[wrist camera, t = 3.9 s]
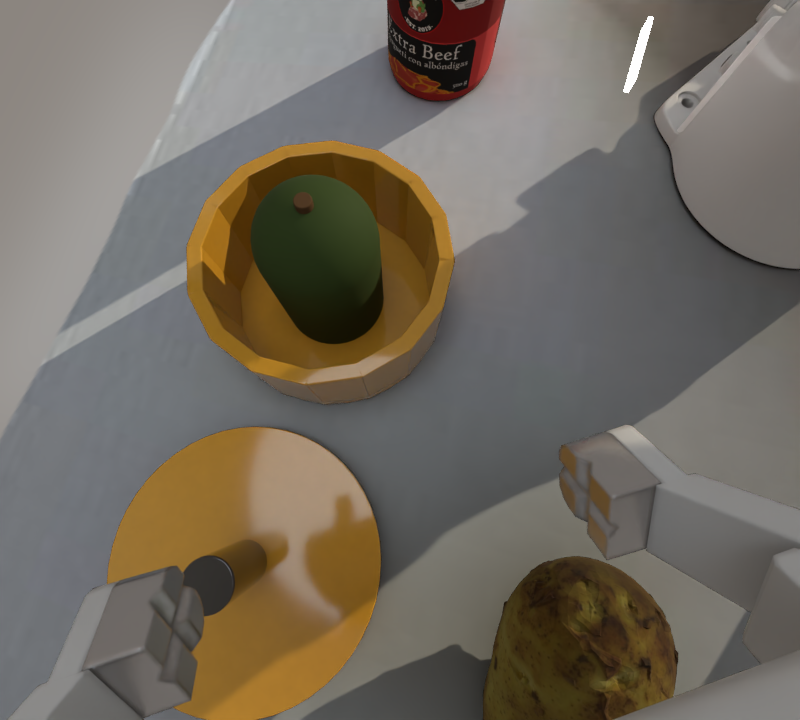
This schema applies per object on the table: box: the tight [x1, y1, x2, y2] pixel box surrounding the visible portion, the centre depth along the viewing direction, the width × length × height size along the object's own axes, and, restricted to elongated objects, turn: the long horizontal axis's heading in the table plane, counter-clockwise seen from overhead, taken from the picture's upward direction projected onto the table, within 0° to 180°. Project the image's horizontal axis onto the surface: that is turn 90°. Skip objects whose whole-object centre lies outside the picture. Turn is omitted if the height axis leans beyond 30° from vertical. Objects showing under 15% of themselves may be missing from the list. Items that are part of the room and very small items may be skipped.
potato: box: [483, 556, 678, 720], centre depth 20 cm, size 8×13×8 cm, turn 153°
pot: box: [186, 140, 455, 405], centre depth 26 cm, size 14×14×6 cm
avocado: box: [250, 175, 384, 344], centre depth 23 cm, size 6×6×10 cm
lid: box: [107, 427, 381, 720], centre depth 22 cm, size 15×15×6 cm
